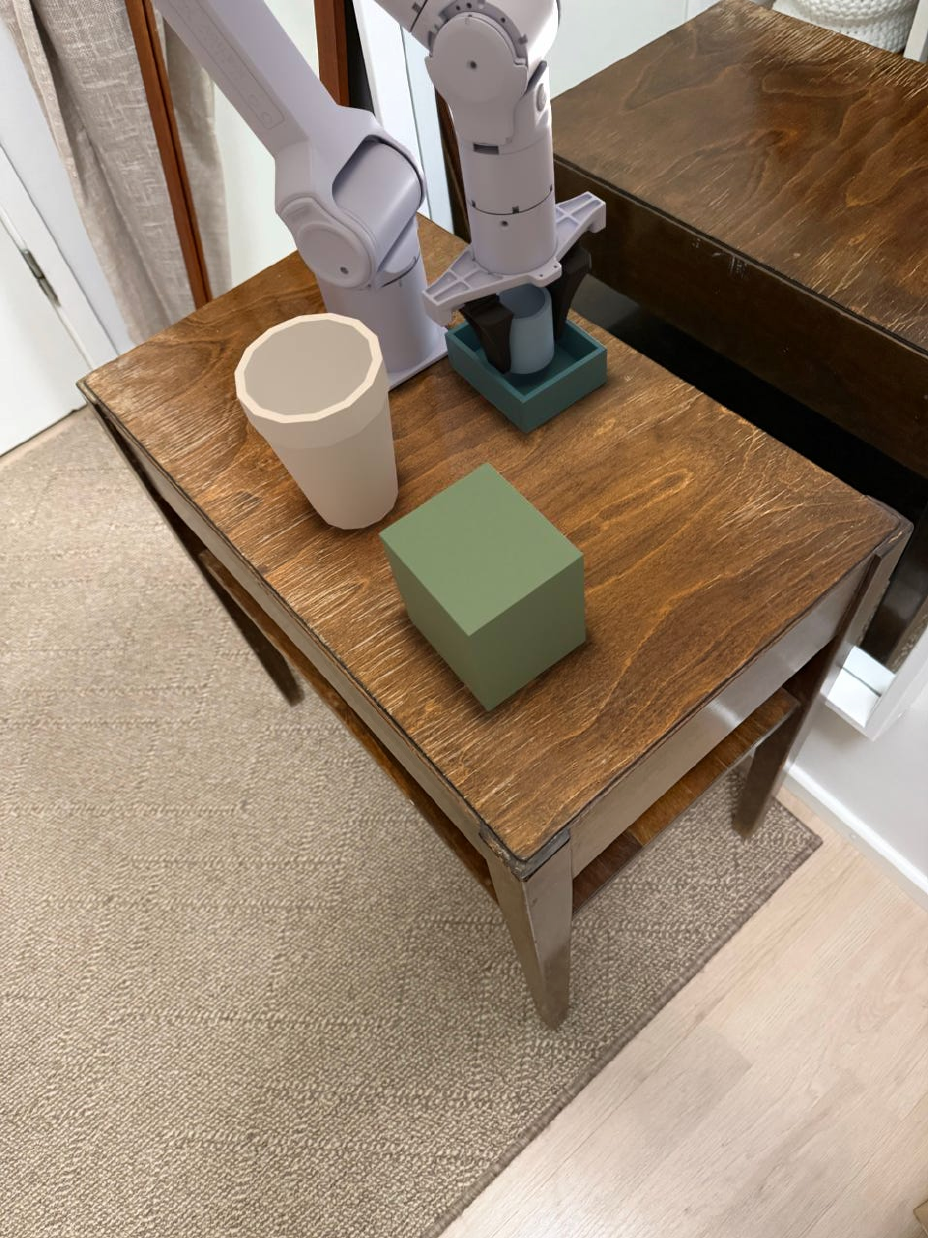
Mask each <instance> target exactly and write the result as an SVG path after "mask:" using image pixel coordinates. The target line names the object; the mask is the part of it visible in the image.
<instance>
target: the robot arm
mask: <svg viewBox="0 0 928 1238" xmlns="http://www.w3.org/2000/svg"><path fill="white" fill-rule="evenodd" d="M149 1H150V2H151V3H152V5H153V6H154V7H155V8H156V10H157V11H158V12H159V14H160V15H161V16H162V18H163V19H164V20H165V21H166V22H167V24H168V25H169V26H170V28H171V29H172V30H173V32H174V33H175V34H176V35H177V37H178V38H179V39H180V40H181V42H182V43H183V45H184V46H185V47H186V48H187V49H188V51H189V52H190V53H191V54H192V56H193V57H194V59H195V60H196V61H197V62H198V64H199V65H200V66H201V67H202V69H203V70H204V71H205V73H207V75H208V76H209V77H210V80H212V81H213V83H214V84H215V85H216V86H217V88H218V89H219V90H220V92H221V93H222V95H224V97H225V98H226V99H227V101H228V102H229V103H230V104H231V106H232V107H233V109H235V111H236V112H237V113H238V115H240V117H241V118H242V119H243V121H244V122H245V124H246V125H247V126H248V128H249V129H250V130H251V131H252V132H253V134H254V135H255V136H256V138H257V139H258V140H259V141H260V143H261V144H262V146H264V148H265V149H266V151H267V152H268V153H269V154H270V156H271V157H272V158H273V160H274V168H275V170H274V211H275V214H276V215H277V217H279V219H280V220H281V221H282V223H283V224H284V225H285V227H287V229H288V231H289V233H290V234H291V236H292V239H293V241H294V244H295V247H296V250H297V252H298V254H299V256H300V257H301V259H302V260H303V262H304V263H305V264H306V266H307V267H308V268H309V270H310V271H311V272H313V273H314V276H315V279H316V282H317V285H318V288H319V291H320V295H321V298H322V301H323V304H324V306H325V310H326V313H333V314H337V315H341V316H345V317H349V318H353V319H357V320H359V321H360V322H361V323H363V324H364V325H365V326H366V327H367V328H368V329H369V330H371V331H372V332H373V333H374V334H375V335H376V336H377V338H378V342H379V345H380V349H381V352H382V356H383V360H384V363H385V367H386V371H387V376H388V380H389V384H390V388H389V391H392V390H393V389H394V388H396V387H398V386H399V385H401V384H402V383H404V382H406V381H407V380H409V379H410V378H413V376H415V375H417V374H418V373H420V372H421V371H423V370H425V369H426V368H429V366H432V365H433V364H434V363H436V362H437V361H440V360H441V359H442V358H444V357H445V356H446V357H447V356H448V351H447V346H446V341H445V336H444V334H445V333H446V332H448V331H449V329H447V328H446V327H445V326H447V325H449V324H450V323H452V322H453V320H454V317H453V314H454V313H455V312H457V311H458V313H459V314H460V315H461V316H462V317H463V319H464V321H467V322H468V324H469V325H470V327H471V328H472V330H473V331H474V333H475V335H476V336H477V338H478V340H479V342H480V344H481V346H482V348H483V350H484V353H485V355H486V358H487V361H488V362H489V363H490V364H491V365H492V366H493V367H494V368H495V369H497V370H498V371H499V372H500V373H501V374H505V373H507V372H508V371H510V369H511V354H510V345H509V339H510V329H511V324H512V320H513V317H514V315H515V313H514V312H512V311H511V310H510V309H509V308H507V307H506V306H505V305H504V304H502V303H501V302H500V296H499V295H496V294H495V293H497V292H500V291H504V290H507V289H510V288H513V287H517V286H520V285H523V284H526V283H533V284H534V285H535V286H538V287H545V288H546V289H547V290H548V291H549V293H550V296H551V306H552V323H553V340H554V341H557V340H559V339H560V338H561V337H562V334H563V330H564V326H565V323H566V319H567V318H568V315H569V311H570V309H571V306H572V303H573V300H574V298H575V296H576V294H577V292H578V289H579V287H580V285H581V284H582V282H583V280H584V279H585V277H586V276H587V275H588V273H589V272H590V270H592V255H591V253H590V252H589V250H587V249H585V248H584V247H582V246H581V245H580V241H579V240H580V237H581V236H582V235H583V234H584V233H586V232H588V231H589V232H591V233H593V234H596V233H598V232H600V231H601V230H603V229H605V228H606V225H607V222H606V221H607V206H606V205H607V203H606V202H605V201H603V200H602V199H601V198H599V197H598V196H596V195H594V194H593V193H591V192H590V191H586V192H583V193H582V194H580V195H578V196H576V197H574V198H571V199H568V200H565V201H562V202H558V203H556V193H555V191H556V190H555V170H554V153H553V152H554V151H553V134H552V133H553V132H552V131H553V130H552V129H553V128H552V110H551V109H552V108H551V101H550V100H551V99H550V80H549V79H550V78H549V63H548V61H546V60H544V57H545V56H546V54H547V53H548V51H549V50H550V48H551V46H552V44H553V42H554V40H555V39H556V38H555V37H556V35H557V33H558V30H559V27H560V23H561V17H562V4H561V0H373V1H374V2H375V3H376V4H377V5H378V6H379V7H380V8H382V9H383V10H384V11H385V12H386V13H387V14H388V15H389V16H390V17H391V18H392V19H393V20H394V21H395V22H397V23H398V24H399V26H401V27H402V28H403V29H404V30H405V31H407V33H409V34H410V36H412V37H413V38H414V39H415V40H416V41H418V43H420V44H421V45H422V46H423V47H424V48H425V49H426V50H427V51H429V52H428V55H427V56H426V55H425V57H424V59H423V60H424V66H425V69H426V71H427V74H428V77H429V79H430V81H431V84H433V86H434V88H435V90H436V92H438V94H439V95H440V96H441V97H442V98H443V100H444V101H445V102H446V103H447V105H448V107H449V109H450V111H451V115H452V119H453V127H454V132H455V134H456V139H457V140H456V141H457V146H458V147H457V148H458V153H459V154H458V155H459V160H460V168H461V174H462V181H463V182H462V183H463V188H464V196H465V203H466V211H467V217H468V224H469V225H468V226H469V231H470V238H471V242H470V243H469V244H468V245H467V246H466V247H465V248H464V250H463V251H462V252H461V253H460V254H459V255H458V256H457V257H456V258H455V260H454V261H453V262H452V263H451V264H450V265H449V266H448V267H447V268H446V269H445V270H444V271H443V273H441V275H440V276H439V277H438V278H437V279H436V280H435V281H433V282H432V283H431V284H430V285H429V284H428V279H427V275H426V269H425V265H424V259H423V255H422V249H421V245H420V239H419V236H418V235H419V234H418V230H419V223H418V218H417V214H416V213H417V212H418V210H420V208H421V207H422V206H423V204H424V202H425V200H426V196H427V191H428V190H427V181H426V176H425V175H426V174H425V173H424V170H423V168H422V166H421V164H420V163H419V161H418V159H417V158H416V156H415V155H414V154H413V153H412V152H411V150H409V149H408V148H407V147H406V146H405V145H404V144H402V143H401V142H399V141H398V140H397V139H395V138H394V137H393V136H391V135H390V133H388V131H386V130H385V128H384V127H383V126H382V125H381V123H380V122H379V120H378V119H377V117H376V116H375V115H374V113H373V112H371V111H370V110H366V109H362V108H354V107H347V106H343V105H339V104H337V103H336V101H335V100H334V98H333V97H332V95H331V94H330V93H329V91H328V89H326V87H325V86H324V84H323V83H322V81H321V80H320V79H319V77H318V76H317V74H316V73H315V71H314V70H313V69H312V67H311V66H310V64H309V63H308V61H307V60H306V58H304V55H303V54H302V53H301V51H300V50H299V48H297V46H296V44H295V43H294V41H293V40H292V39H291V38H290V36H289V35H288V33H287V32H286V30H285V28H284V27H283V26H282V25H281V23H280V22H279V20H278V19H277V17H276V15H274V13H273V12H272V10H271V9H270V8H269V6H268V5H267V3H266V2H265V1H264V0H149Z"/></svg>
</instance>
